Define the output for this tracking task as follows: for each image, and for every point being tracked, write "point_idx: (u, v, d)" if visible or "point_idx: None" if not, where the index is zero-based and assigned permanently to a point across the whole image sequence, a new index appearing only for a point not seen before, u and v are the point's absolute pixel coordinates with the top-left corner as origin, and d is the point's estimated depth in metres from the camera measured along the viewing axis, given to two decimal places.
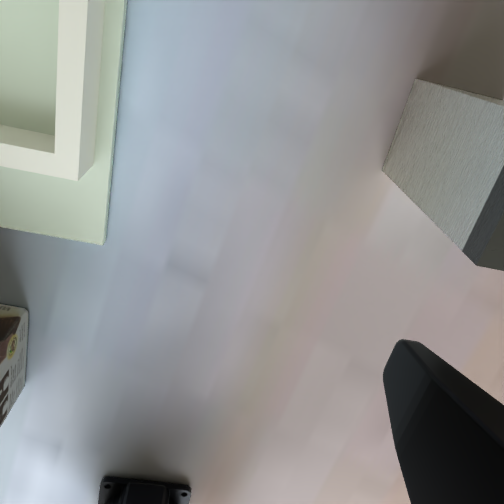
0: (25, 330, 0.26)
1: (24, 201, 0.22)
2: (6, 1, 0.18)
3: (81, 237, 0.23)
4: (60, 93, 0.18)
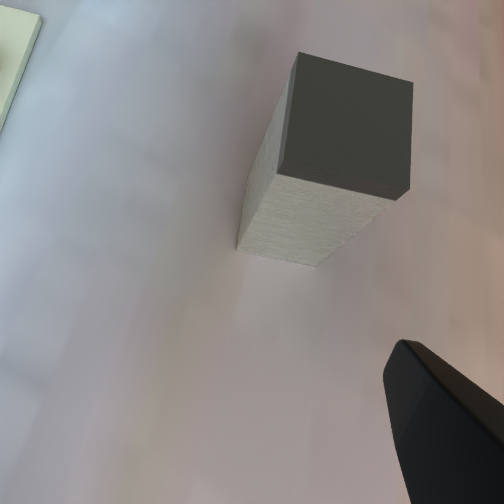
0: None
1: None
2: None
3: None
4: None
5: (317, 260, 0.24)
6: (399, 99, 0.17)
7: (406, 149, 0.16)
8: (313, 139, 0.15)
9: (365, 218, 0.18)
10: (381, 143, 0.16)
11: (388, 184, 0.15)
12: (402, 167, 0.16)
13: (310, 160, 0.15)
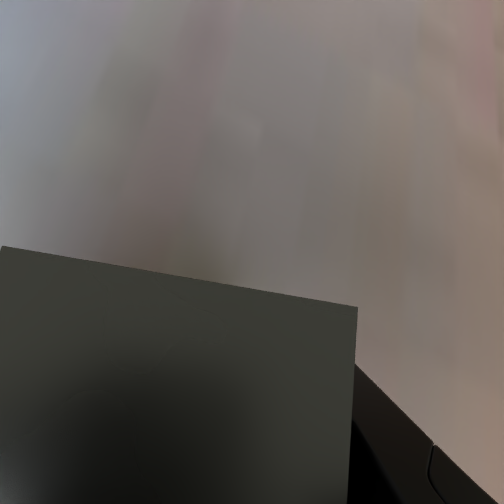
0: None
1: None
2: None
3: None
4: None
5: None
6: (314, 372, 0.06)
7: None
8: None
9: None
10: None
11: None
12: None
13: None
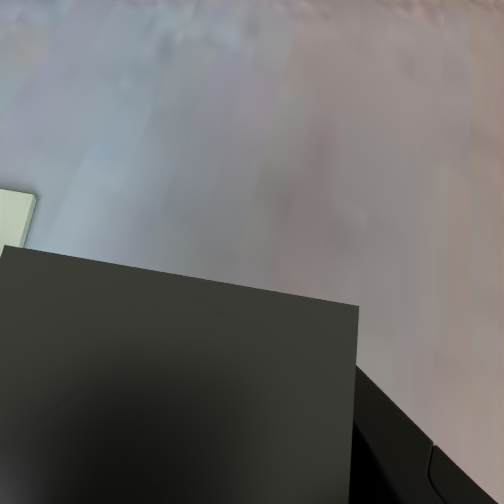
0: None
1: None
2: None
3: None
4: None
5: None
6: (315, 371, 0.06)
7: None
8: None
9: None
10: None
11: None
12: None
13: None
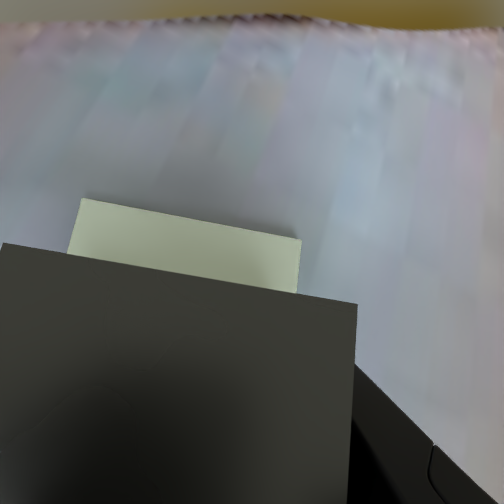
0: None
1: None
2: None
3: None
4: None
5: None
6: (314, 369, 0.06)
7: None
8: None
9: None
10: None
11: None
12: None
13: None
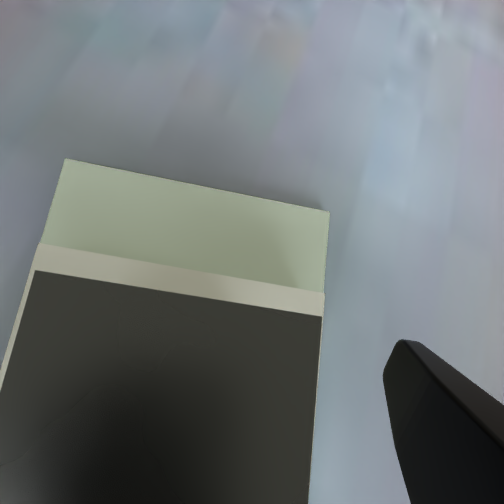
0: None
1: None
2: None
3: None
4: None
5: None
6: (285, 370, 0.07)
7: None
8: None
9: None
10: None
11: None
12: None
13: None
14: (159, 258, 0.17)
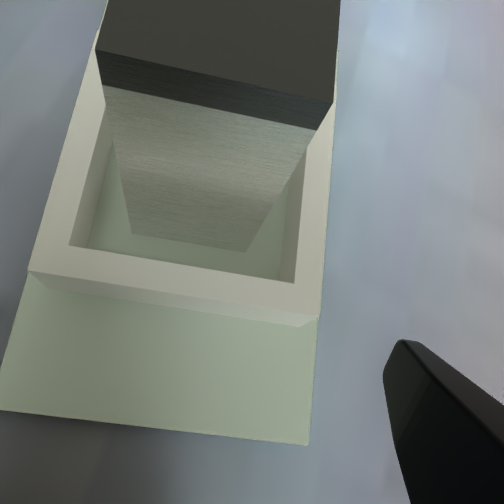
0: None
1: (208, 384, 0.16)
2: None
3: (279, 435, 0.16)
4: (304, 218, 0.16)
5: (243, 243, 0.17)
6: None
7: (330, 37, 0.09)
8: (157, 16, 0.09)
9: (281, 169, 0.11)
10: (284, 26, 0.09)
11: (294, 94, 0.09)
12: (321, 67, 0.09)
13: (147, 51, 0.08)
14: None
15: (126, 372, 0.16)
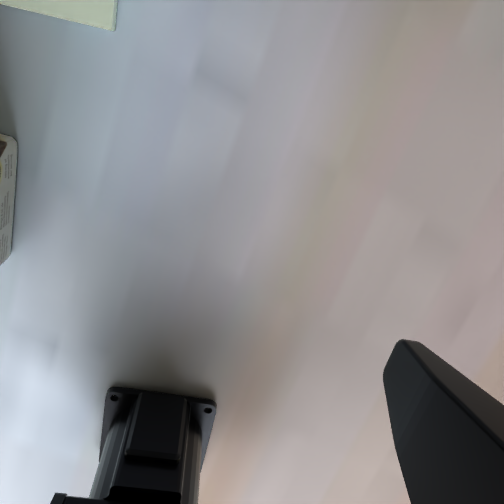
0: (12, 167, 0.20)
1: None
2: None
3: (82, 17, 0.17)
4: None
5: None
6: None
7: None
8: None
9: None
10: None
11: None
12: None
13: None
14: None
15: None
